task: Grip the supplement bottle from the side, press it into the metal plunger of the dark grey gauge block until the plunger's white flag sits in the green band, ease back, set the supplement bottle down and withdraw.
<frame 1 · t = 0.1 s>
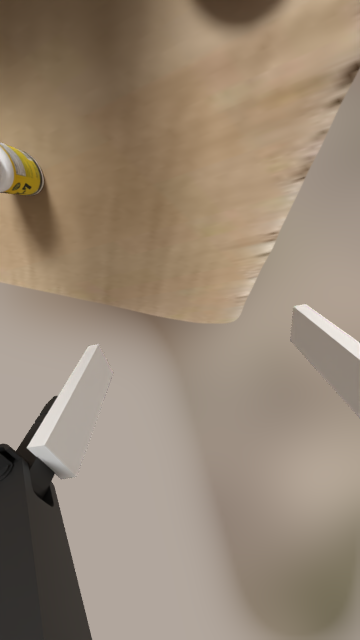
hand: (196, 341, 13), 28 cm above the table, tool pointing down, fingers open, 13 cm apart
supplement bottle: (26, 174, 31), on the table
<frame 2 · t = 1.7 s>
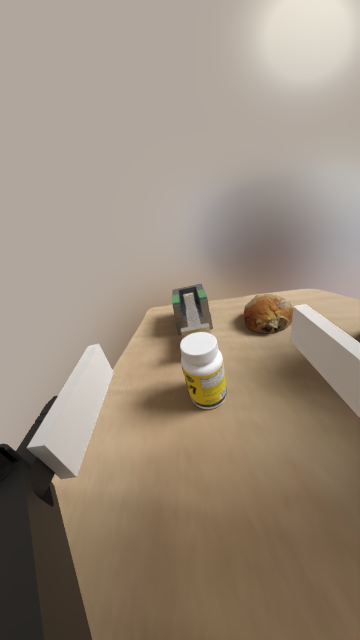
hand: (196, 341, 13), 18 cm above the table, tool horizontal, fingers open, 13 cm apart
plunger: (193, 321, 39), point 6 cm above the table, slide at 0.0 cm
bread roll: (266, 323, 44), on the table
supplement bottle: (208, 394, 31), on the table
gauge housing: (199, 352, 39), on the table
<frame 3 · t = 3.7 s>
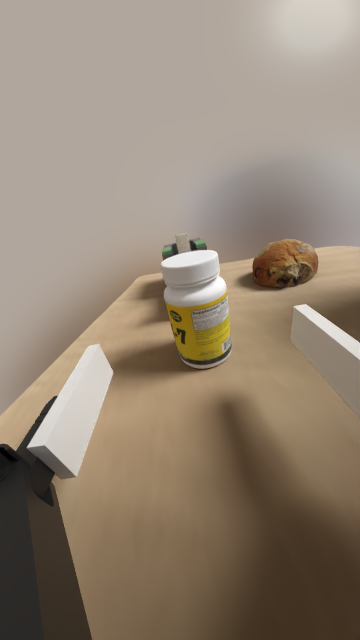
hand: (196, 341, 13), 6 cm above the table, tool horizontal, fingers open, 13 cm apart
plunger: (187, 268, 30), point 6 cm above the table, slide at 0.0 cm
bread roll: (281, 279, 34), on the table
supplement bottle: (205, 352, 22), on the table
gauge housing: (195, 309, 30), on the table
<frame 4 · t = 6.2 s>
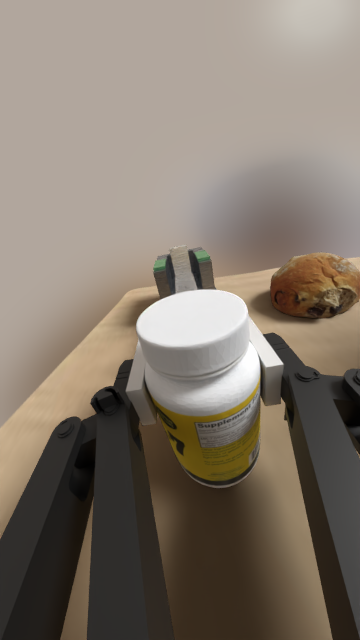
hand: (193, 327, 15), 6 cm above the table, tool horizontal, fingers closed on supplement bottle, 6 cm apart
plunger: (187, 293, 22), point 6 cm above the table, slide at 0.0 cm
bread roll: (308, 303, 26), on the table
supplement bottle: (215, 440, 14), on the table, touching gripper
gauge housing: (197, 348, 22), on the table
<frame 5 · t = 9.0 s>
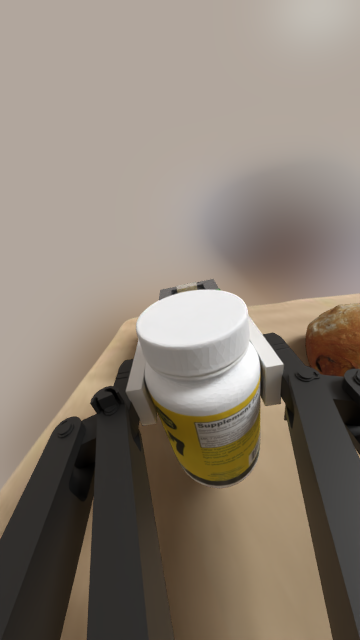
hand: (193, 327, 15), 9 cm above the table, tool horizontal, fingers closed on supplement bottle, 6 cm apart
plunger: (197, 340, 19), point 6 cm above the table, slide at 3.7 cm
bread roll: (359, 366, 20), on the table
supplement bottle: (215, 440, 14), point 3 cm above the table, touching gripper
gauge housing: (216, 441, 16), on the table
when the fingers open (7 cm above the table, at t = 10.8 s): supplement bottle stays where it is, on the table.
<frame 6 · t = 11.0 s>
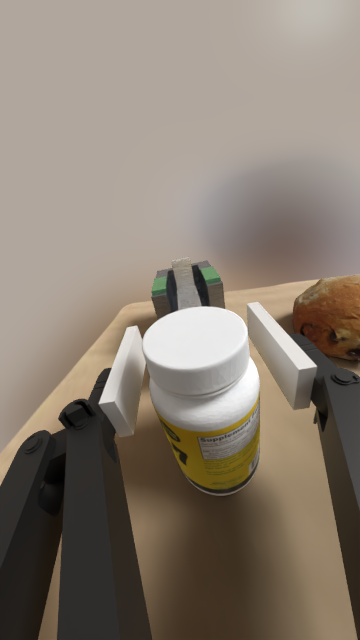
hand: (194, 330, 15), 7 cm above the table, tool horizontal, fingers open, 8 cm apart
plunger: (190, 309, 21), point 6 cm above the table, slide at 3.8 cm
bread roll: (341, 335, 21), on the table
supplement bottle: (216, 448, 14), on the table
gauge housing: (207, 397, 18), on the table
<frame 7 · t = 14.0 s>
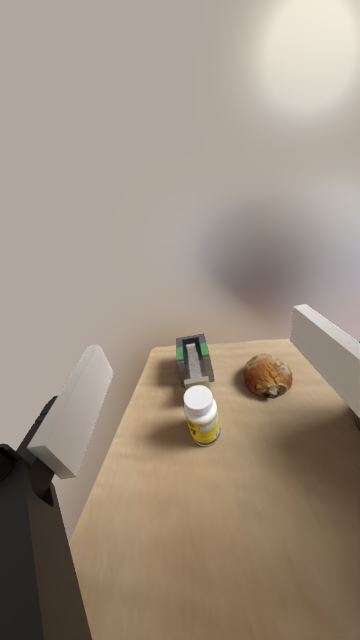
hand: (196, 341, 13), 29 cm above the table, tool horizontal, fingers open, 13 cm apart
plunger: (195, 369, 45), point 6 cm above the table, slide at 3.8 cm
bread roll: (266, 382, 45), on the table
supplement bottle: (205, 432, 38), on the table
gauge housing: (202, 411, 41), on the table
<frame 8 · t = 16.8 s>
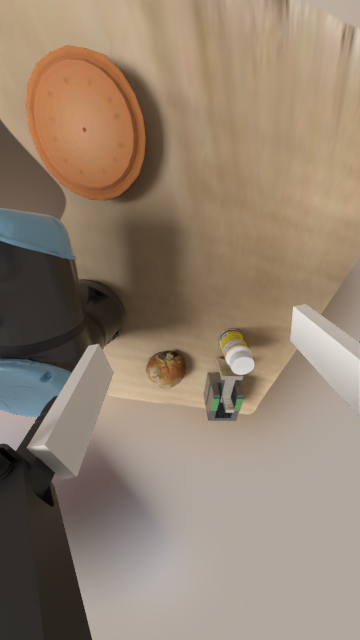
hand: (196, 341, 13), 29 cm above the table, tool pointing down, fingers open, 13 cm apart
plunger: (227, 386, 49), point 6 cm above the table, slide at 3.8 cm
bread roll: (166, 363, 53), on the table
supplement bottle: (229, 337, 49), on the table
pie: (97, 141, 30), on the table
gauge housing: (226, 351, 51), on the table
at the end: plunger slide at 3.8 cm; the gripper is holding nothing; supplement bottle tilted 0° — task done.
